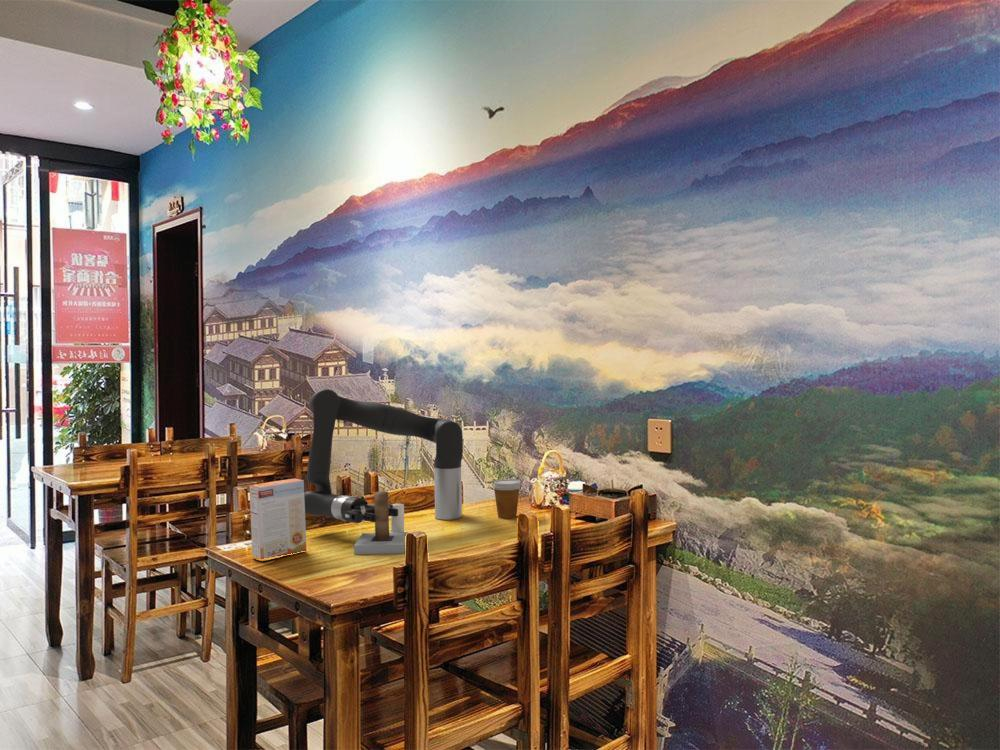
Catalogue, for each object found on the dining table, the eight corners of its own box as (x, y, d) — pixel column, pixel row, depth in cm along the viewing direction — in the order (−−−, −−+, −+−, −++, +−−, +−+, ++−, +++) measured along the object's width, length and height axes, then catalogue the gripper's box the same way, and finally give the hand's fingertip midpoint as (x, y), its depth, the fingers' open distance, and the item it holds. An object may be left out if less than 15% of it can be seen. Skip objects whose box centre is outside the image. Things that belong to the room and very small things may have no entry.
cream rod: (392, 535, 227) (391, 503, 227) (405, 535, 227) (404, 503, 227) (390, 539, 223) (389, 506, 223) (403, 538, 223) (403, 506, 223)
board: (362, 541, 221) (362, 533, 221) (409, 540, 221) (409, 532, 221) (354, 554, 207) (353, 545, 207) (403, 553, 207) (403, 544, 207)
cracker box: (296, 549, 214) (294, 477, 213) (307, 552, 209) (305, 479, 209) (250, 559, 204) (248, 484, 203) (260, 563, 200) (258, 486, 199)
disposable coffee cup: (524, 518, 247) (523, 483, 246) (496, 520, 245) (496, 484, 244) (517, 512, 256) (516, 478, 256) (490, 514, 254) (489, 480, 253)
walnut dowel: (376, 545, 216) (375, 491, 215) (390, 545, 216) (389, 491, 215) (374, 549, 212) (373, 494, 211) (388, 548, 212) (387, 493, 211)
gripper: (330, 500, 217) (367, 507, 207) (367, 492, 228) (404, 498, 218) (331, 525, 217) (368, 533, 207) (367, 516, 228) (404, 523, 218)
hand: (386, 515), depth 212 cm, fingers open, 8 cm apart
